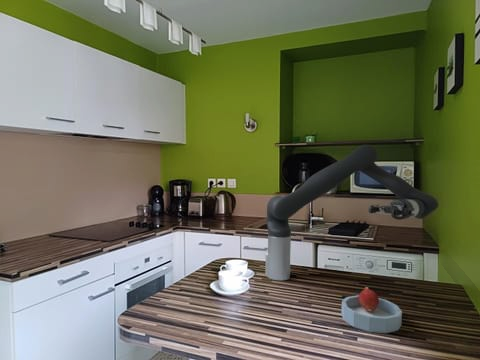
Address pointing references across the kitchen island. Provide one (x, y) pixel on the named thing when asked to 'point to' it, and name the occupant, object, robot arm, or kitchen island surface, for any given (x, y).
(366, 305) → the onion
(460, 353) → the kitchen island surface
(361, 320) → the faceted shallow dish
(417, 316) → the kitchen island surface
